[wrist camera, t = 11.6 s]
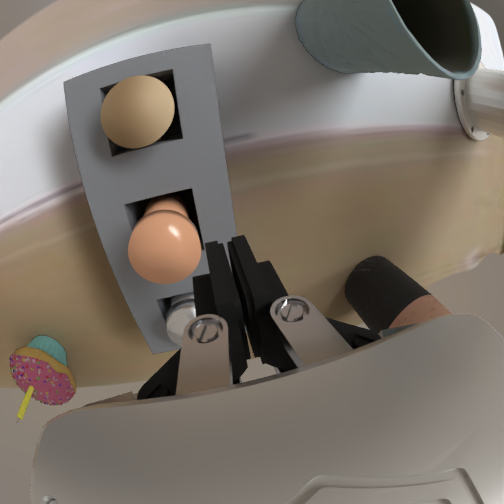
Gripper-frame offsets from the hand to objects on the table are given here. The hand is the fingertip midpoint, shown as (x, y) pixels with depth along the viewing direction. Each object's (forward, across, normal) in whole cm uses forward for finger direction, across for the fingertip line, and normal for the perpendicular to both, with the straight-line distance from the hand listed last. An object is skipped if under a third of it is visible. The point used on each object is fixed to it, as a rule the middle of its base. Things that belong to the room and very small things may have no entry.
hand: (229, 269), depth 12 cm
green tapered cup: (+13, -13, -14) cm, 23 cm away
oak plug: (+11, +3, -7) cm, 14 cm away
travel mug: (+12, -17, +14) cm, 26 cm away
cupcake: (+11, +23, +13) cm, 29 cm away
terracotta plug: (+9, +3, 0) cm, 10 cm away
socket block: (+12, +3, 0) cm, 12 cm away
